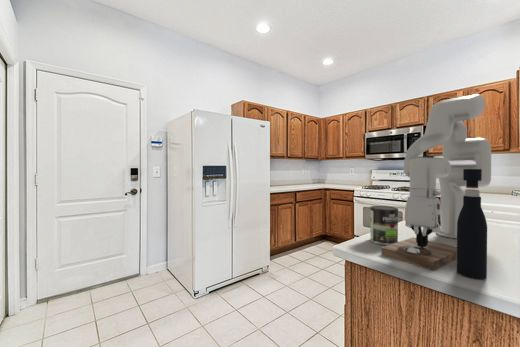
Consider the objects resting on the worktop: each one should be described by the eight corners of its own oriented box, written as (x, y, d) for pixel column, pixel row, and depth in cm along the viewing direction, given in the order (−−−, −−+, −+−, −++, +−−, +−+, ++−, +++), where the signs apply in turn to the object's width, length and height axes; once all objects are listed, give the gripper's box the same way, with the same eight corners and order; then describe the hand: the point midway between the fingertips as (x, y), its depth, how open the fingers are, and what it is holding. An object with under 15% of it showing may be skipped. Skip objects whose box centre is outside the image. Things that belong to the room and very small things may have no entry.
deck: (413, 243, 96) (413, 237, 96) (462, 255, 83) (462, 248, 83) (381, 254, 85) (381, 247, 84) (433, 270, 71) (433, 262, 71)
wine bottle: (492, 280, 64) (494, 169, 64) (465, 278, 66) (467, 169, 65) (475, 270, 71) (477, 168, 70) (451, 269, 72) (452, 169, 71)
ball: (403, 254, 81) (408, 258, 83) (415, 258, 77) (421, 261, 79) (405, 243, 82) (411, 246, 84) (418, 246, 78) (423, 250, 80)
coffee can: (404, 244, 95) (404, 209, 95) (380, 246, 93) (380, 210, 93) (386, 237, 105) (386, 205, 105) (365, 238, 104) (365, 206, 103)
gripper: (453, 194, 79) (452, 250, 79) (405, 191, 92) (405, 239, 92) (442, 196, 75) (442, 254, 75) (394, 192, 88) (394, 242, 88)
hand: (422, 245), depth 84 cm, fingers closed
